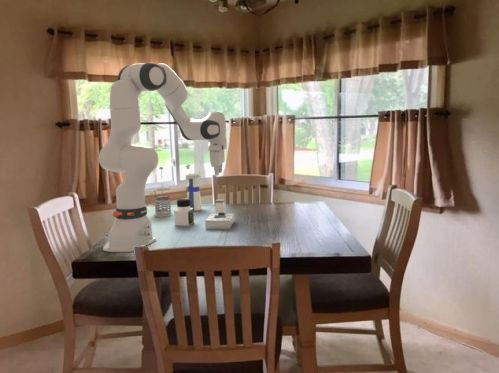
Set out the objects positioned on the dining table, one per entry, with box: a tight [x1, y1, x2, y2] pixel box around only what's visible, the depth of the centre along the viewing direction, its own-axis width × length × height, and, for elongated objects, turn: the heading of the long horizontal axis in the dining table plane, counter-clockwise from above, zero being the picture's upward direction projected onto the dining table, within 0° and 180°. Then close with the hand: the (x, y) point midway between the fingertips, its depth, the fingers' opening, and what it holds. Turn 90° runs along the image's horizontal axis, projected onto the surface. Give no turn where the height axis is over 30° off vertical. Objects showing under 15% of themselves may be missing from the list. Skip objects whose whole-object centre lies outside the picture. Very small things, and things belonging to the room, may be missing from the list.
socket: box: [204, 211, 235, 230], centre depth 191 cm, size 14×11×5 cm
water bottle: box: [185, 163, 202, 212], centre depth 224 cm, size 8×9×25 cm
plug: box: [214, 198, 226, 213], centre depth 205 cm, size 4×4×9 cm
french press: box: [148, 166, 174, 218], centre depth 213 cm, size 10×12×25 cm
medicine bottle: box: [173, 197, 195, 227], centre depth 194 cm, size 7×7×12 cm
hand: (218, 173), depth 203 cm, fingers open, 8 cm apart
